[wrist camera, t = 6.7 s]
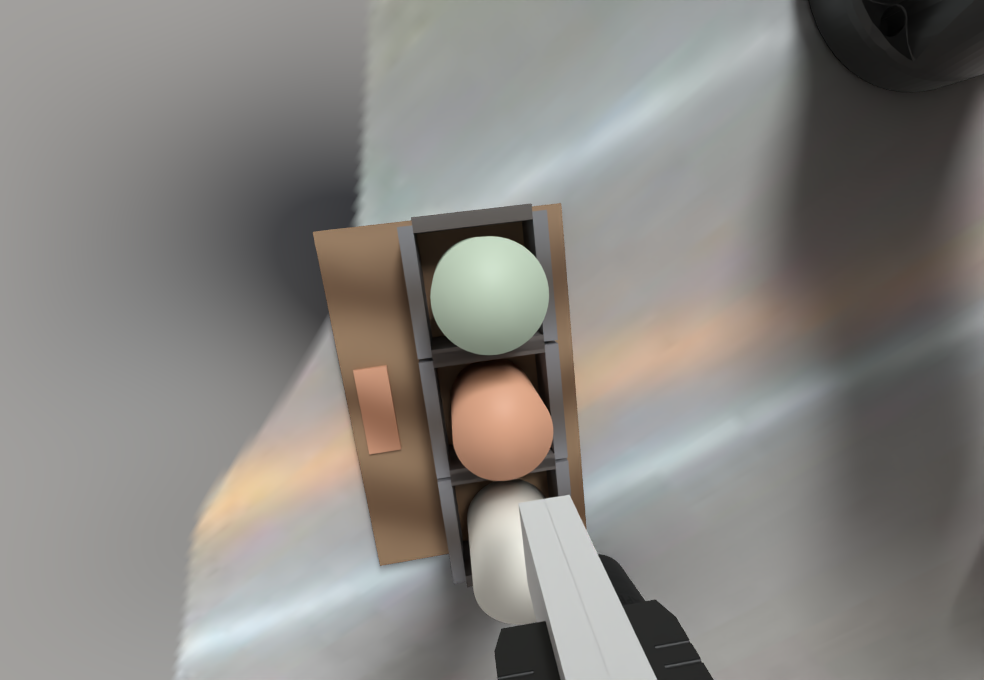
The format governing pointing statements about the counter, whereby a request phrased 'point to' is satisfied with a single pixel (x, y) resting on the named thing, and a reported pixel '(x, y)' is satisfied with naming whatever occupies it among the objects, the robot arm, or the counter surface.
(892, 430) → the counter surface
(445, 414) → the wooden compartment tray
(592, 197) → the counter surface
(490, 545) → the button ivory
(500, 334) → the pale green rounded cylinder
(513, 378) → the button terracotta
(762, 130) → the counter surface
